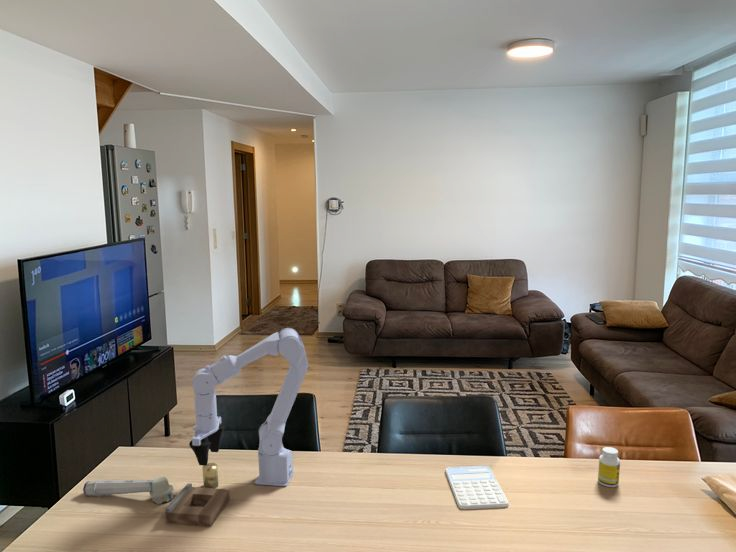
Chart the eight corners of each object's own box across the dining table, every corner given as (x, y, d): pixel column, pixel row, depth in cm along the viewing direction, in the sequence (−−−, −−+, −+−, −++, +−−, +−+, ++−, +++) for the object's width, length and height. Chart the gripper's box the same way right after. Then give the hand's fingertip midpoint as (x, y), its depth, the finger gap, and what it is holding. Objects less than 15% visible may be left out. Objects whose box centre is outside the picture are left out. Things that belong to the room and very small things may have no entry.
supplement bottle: (619, 489, 151) (621, 455, 150) (598, 486, 153) (600, 453, 151) (617, 479, 156) (619, 447, 155) (597, 476, 158) (598, 444, 156)
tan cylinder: (220, 482, 158) (219, 463, 157) (214, 490, 154) (213, 470, 153) (207, 481, 158) (206, 462, 157) (201, 489, 154) (199, 469, 153)
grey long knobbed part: (92, 476, 155) (173, 470, 151) (97, 498, 156) (178, 492, 152) (79, 486, 150) (164, 480, 146) (85, 509, 151) (169, 503, 147)
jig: (229, 499, 149) (228, 486, 148) (211, 526, 137) (209, 511, 137) (188, 496, 151) (187, 483, 150) (165, 523, 139) (164, 508, 138)
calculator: (459, 511, 143) (459, 504, 143) (444, 472, 163) (444, 466, 162) (509, 509, 144) (510, 502, 143) (489, 470, 163) (489, 464, 163)
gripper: (203, 401, 160) (206, 445, 162) (180, 422, 146) (183, 470, 148) (227, 402, 159) (229, 446, 161) (205, 423, 145) (208, 471, 147)
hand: (209, 458), depth 155 cm, fingers open, 7 cm apart
